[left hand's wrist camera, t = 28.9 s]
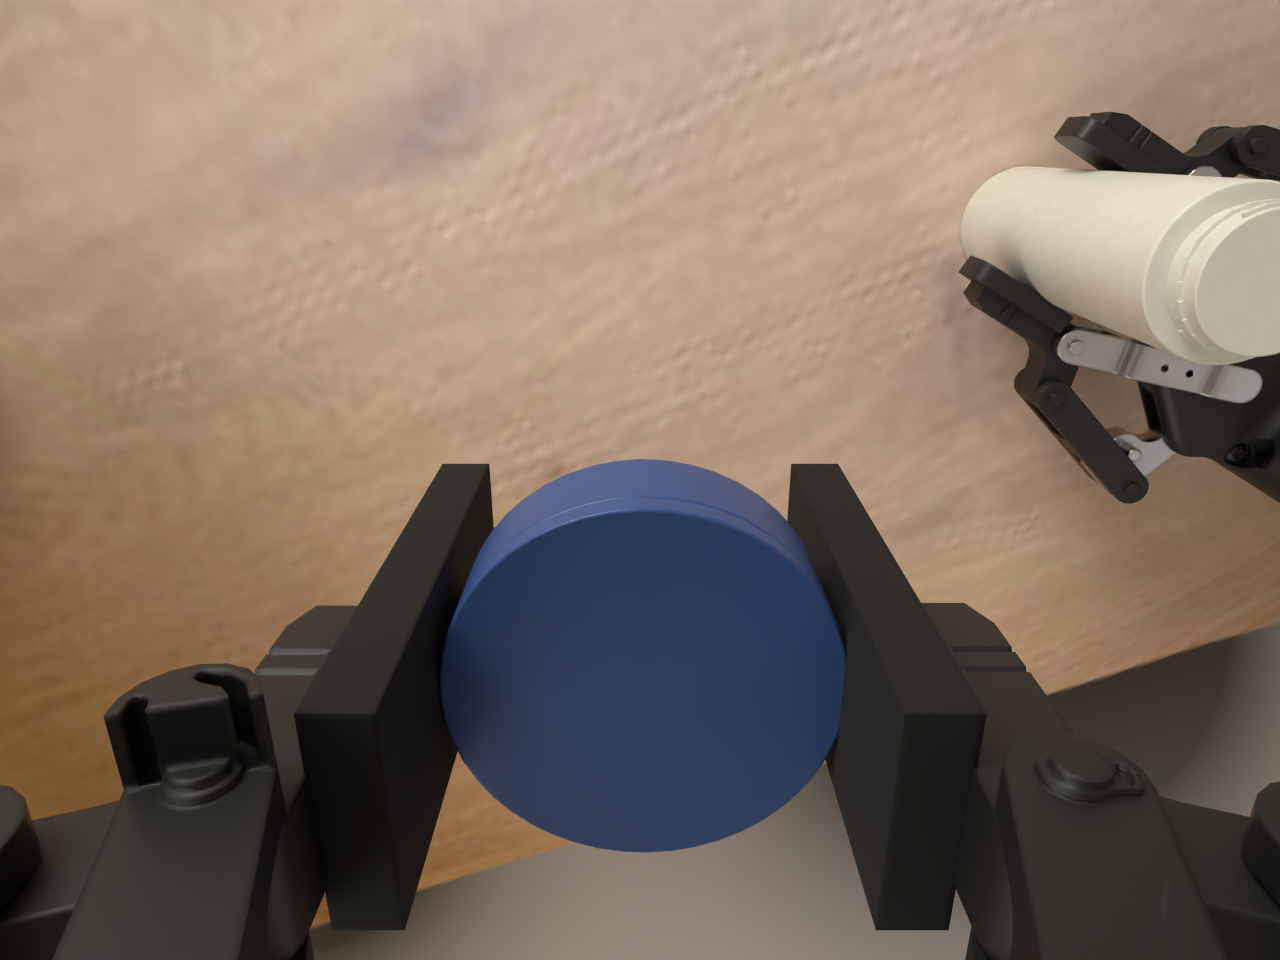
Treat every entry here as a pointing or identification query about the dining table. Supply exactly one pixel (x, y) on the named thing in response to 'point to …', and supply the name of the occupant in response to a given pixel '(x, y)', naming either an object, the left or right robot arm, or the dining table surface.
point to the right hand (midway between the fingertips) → (1021, 198)
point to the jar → (1141, 253)
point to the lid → (643, 659)
